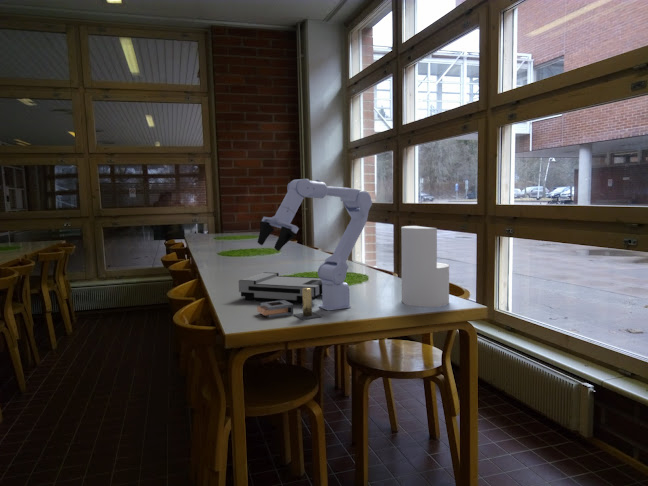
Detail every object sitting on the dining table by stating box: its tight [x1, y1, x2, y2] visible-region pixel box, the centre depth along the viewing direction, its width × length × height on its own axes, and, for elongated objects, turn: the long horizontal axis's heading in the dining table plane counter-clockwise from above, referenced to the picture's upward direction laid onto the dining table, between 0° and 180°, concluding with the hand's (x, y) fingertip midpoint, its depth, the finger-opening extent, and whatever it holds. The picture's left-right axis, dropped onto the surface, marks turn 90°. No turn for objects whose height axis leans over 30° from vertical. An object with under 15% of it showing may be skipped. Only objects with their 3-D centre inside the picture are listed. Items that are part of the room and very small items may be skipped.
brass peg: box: [302, 288, 313, 316], centre depth 153 cm, size 3×3×9 cm
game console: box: [238, 271, 322, 305], centre depth 184 cm, size 21×32×8 cm, turn 68°
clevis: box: [256, 300, 294, 319], centre depth 157 cm, size 10×8×4 cm
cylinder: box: [400, 225, 450, 308], centre depth 171 cm, size 17×17×28 cm
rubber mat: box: [293, 311, 322, 321], centre depth 154 cm, size 7×7×1 cm
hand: (267, 246), depth 149 cm, fingers open, 7 cm apart
